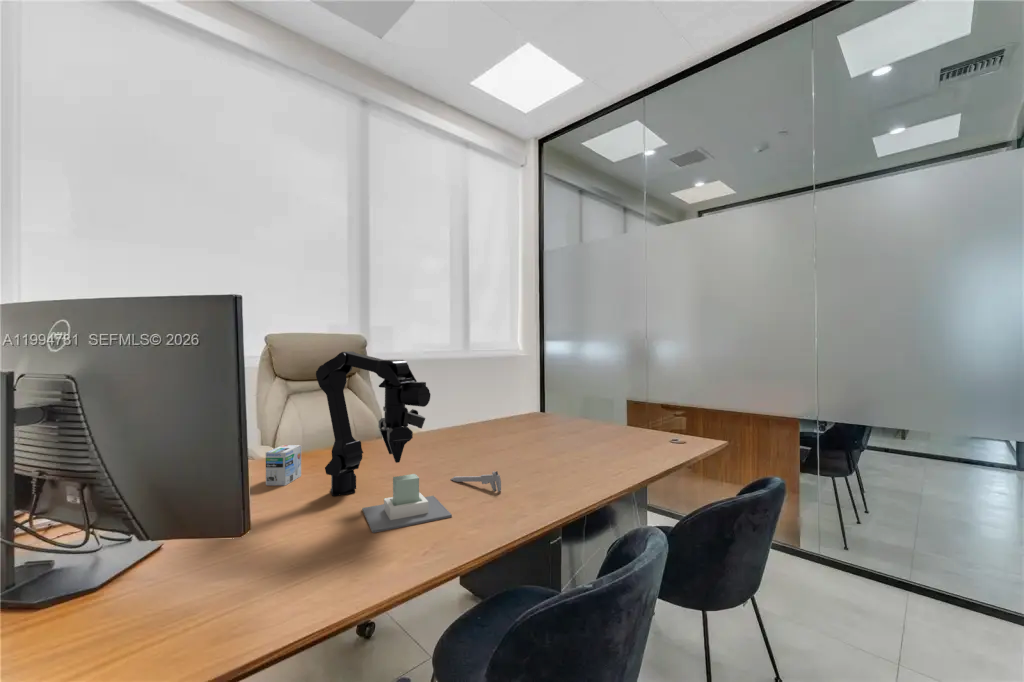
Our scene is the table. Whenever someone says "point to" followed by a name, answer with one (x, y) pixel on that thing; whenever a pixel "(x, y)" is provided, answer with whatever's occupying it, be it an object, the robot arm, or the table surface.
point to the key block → (405, 489)
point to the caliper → (482, 480)
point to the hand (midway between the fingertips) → (394, 458)
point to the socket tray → (404, 513)
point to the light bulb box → (283, 465)
